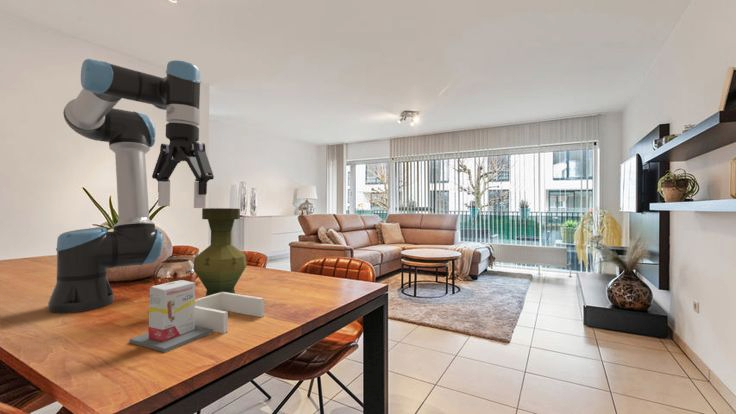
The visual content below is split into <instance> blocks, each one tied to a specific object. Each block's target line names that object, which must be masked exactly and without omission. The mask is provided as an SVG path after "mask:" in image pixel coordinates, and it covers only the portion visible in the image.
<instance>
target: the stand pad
mask: <svg viewBox="0 0 736 414" xmlns="http://www.w3.org/2000/svg"><path fill="white" fill-rule="evenodd" d="M212 333H213V331H212V329H208V328H203V327H198V326H195V329H194V330H192V331H189V332H187V333H184V334H182V335H179V336H177V337H174V338H172V339H169V340H167V341H164V342H162V341H157V340H153V339H149V331H148V332H145V333H143V334H140V335H137V336H134V337H132V338H129V343H130V344H134V345H137V346H142V347H144V348H148V349H152V350H156V351H158V352H163V353H167V352H169V351H172V350H174V349H177V348H179V347H181V346H183V345H186V344H190V342H191V343H192V342H194V341H196V340H198V339H201V338H203V337H206V336H208V335H210V334H212Z"/></svg>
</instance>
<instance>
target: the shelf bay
mask: <svg viewBox="0 0 736 414" xmlns="http://www.w3.org/2000/svg"><path fill="white" fill-rule="evenodd" d="M205 296H206V295H205ZM205 296H203V297H199V298H195V326H198V327H203V328H208V329H212V332H214V333H215V332H216V333H219V334H226V333H228V328H229V326H228V323H229V320H228V319H229V316H228V314H229V313H228V312H231V313H236V314H243V315H246V316H247V315H248V316H253V317H258V318H262V317H264V316H265V297H259V296H253V295H246V294H239V293H235V294H234V293H227V292H220V293H216V294H213V295H209V296H206V297H205Z"/></svg>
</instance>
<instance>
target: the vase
mask: <svg viewBox="0 0 736 414" xmlns="http://www.w3.org/2000/svg"><path fill="white" fill-rule="evenodd" d="M201 209H202V211H201V215H202V217H201V218H202V220H207V222H208V226H209V228H210V229H209V230H210V245H209V246H208V247H206V248H205V249H204V250H202V251H201V252H200V253H199V254H198V255H196V256H195V257H194V260H193V265H192V269H193V271H194V273H195V274H196V275H197V277H198V278H199V280H200V282H201V284H202V285H203V287H204V288H205V290H206V291H205V296H204V297H206V296H209V295H213V294H216V293H220V292H227V293H234V294H236V291H235V286H236V285H237V283H238V282H239V280H240V278H241V277H242V275H243V273H244V271H245V269H246V268H247V266H248V261H247V255H246V254H245V253H244V252H243V251H241V250H240V249H238V248H237V247H236V246H234V245H233V244H232V230H233V227H234V223H235V220H241V214H240V213H241V209H240V208H229V207H228V208H227V207H226V208H224V207H220V208H219V207H217V208H215V207H211V208H210V207H208V208H207V207H205V208H201Z"/></svg>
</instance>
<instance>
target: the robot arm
mask: <svg viewBox="0 0 736 414" xmlns="http://www.w3.org/2000/svg"><path fill="white" fill-rule="evenodd" d="M200 71H201V70H200V69H199V68H198V66H196V65H195V64H193V63H191V62H187V61H184V60H171V61H168V63H167V64H166V71H165V73H166V76H165V77H161V76H157V75H154V74H153V75H152V74H149V73H146V72H142V71H138V70H135V69H130V68H127V67H122V66H119V65H116V64H113V63H110V62H107V61H103V60H95V59H91V58H87V59H84V60H83V62H82V64H81V69H80V84H81V87H82V89H81V90H80V91H79V94H78V95H77V97H76V98H73V99H72V100H69V101H68V102H67V103H66V105H65V106H64V109H63V112H62V113H63V118H64V121H65V123H66V124H67V125H68V126H69V128H71V130H73V131H74V132H75V133H76V134H78V135H80V136H82V137H84V138H87V139H89V140H93V141H96V142H97V141H98V142H104V143H105V142H106V143H108V146H109V150H110V151H112V152H113V153H114V154H115V155H114V157H115V174H116V175H115V176H116V178H115V179H116V195H117V212H118V214H117V216H118V221H117V222H116V223H115V224H114V225H113V227H112V228H113V231H109V230H108V229H107V227H104V226H102V227H101V226H99V227H90V228H81V229H75V230H70V231H65V232H62V233H60V235H58V237H57V241H56V248H55V251H56V252H57V253H56V284H55V286H54V288H53V291H52V293H51V296H50V297H49V301H48V305H47V306H48V309H47V311H48V312H50V313H54V314H55V313H56V314H57V313H58V314H59V313H60V314H61V313H63V314H65V313H77V312H84V311H89V310H94V309H99V308H103V307H106V306H108V305H111V304H112V303H114V296H115V295H114V292H113V289H112V286H111V284H110V283H109V280H108V274H107V273H108V269H112V268H120V267H121V268H122V267H131V266H143V265H146V264H152V263H155V262H157V260H158V259H159V257H160V256H161V253H162V249H163V246H164V245H163V243H164V242H163V241H164V239H163V238H164V237H163V233H162V230H161V229H158V228H156V223H155V222H153V221H152V220H151V219H150V210H149V209H150V208H149V193H148V192H149V191H148V180H147V178H148V177H147V164H146V162H147V161H146V154H147V153H148V152H149V151H150V150H151V148H152V147H154V145H155V142H156V128H155V125H154V122H153V120H152V119H151V118H150V116H148V114H147V115H146V114H145V113H139V112H136V111H130V110H125V109H120V108H115V106H116V105H117V104H118V103H119V102H120V101H121V100H122V99H124V100H128V101H134V102H140V103H144V104H148V105H153V106H154V107H155V108H156V109H159V110H164V111H166V112H165V113H166V114H165V121H166V122H167V123H166V124H165V137H166V139H168V140H169V144H168V143H167V144H166V143H161V144H160V147H159V148H160V149H159V150H160V151H159V153H158V154H159V155H158V157H157V160H156V163H155V165H154V169H153V173H152V174H151V178H152V179H154V180H156V181H157V193H158V197H157V202H158V203H157V205H158V207H170V206H171V180H170V178H171V176H172V174H173V173H174V171H175V169H176V167H177V165H178V164H180V163H181V162H186V164H187V165H188V167H189V169H190V171H191V172H192V174H193V176H194V177H195V179H194V183H193V185H194V187H193V208H194V209H202V208H206V198H207V197H206V195H207V192H208V191H207V190H208V189H207V188H208V182H209V181H210V180H214V178H215V176H214V173H213V170H212V167H211V164H210V161H209V158H208V155H207V151H206V143H203V142H200V141H199V140H200V128H199V127H198V126H200V101H201V99H200V95H201V94H200V93H201V92H200V91H201V84H202V83H201V76H200V75H201V73H200Z"/></svg>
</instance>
